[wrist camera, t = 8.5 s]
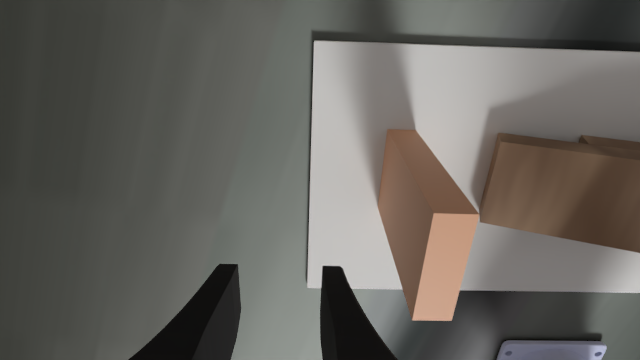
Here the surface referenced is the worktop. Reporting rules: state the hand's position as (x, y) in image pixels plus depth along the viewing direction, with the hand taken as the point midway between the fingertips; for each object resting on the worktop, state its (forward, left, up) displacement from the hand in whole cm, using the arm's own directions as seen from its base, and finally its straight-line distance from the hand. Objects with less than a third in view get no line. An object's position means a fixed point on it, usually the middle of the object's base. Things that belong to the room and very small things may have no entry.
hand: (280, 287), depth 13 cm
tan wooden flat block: (0, -6, -10) cm, 12 cm away
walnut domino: (0, -11, -9) cm, 14 cm away
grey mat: (-1, -16, -10) cm, 19 cm away
